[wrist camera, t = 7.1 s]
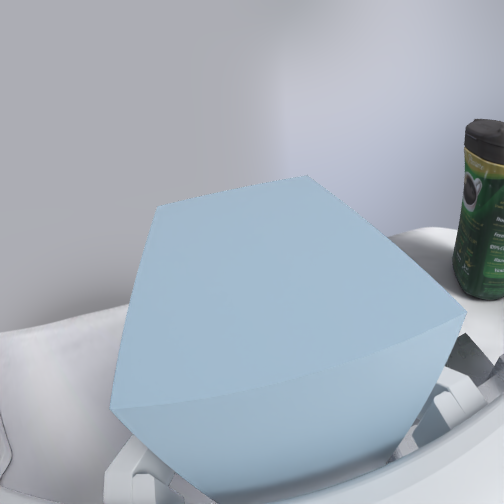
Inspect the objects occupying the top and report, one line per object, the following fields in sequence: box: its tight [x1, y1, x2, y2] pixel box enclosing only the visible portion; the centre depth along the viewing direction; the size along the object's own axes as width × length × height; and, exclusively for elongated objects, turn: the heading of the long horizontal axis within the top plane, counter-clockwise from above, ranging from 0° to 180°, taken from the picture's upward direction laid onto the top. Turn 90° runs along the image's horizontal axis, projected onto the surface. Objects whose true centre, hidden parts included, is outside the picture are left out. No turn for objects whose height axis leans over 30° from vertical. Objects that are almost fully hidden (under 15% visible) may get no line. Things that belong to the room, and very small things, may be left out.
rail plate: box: [388, 333, 504, 464], centre depth 14 cm, size 12×14×4 cm
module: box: [110, 176, 467, 504], centre depth 9 cm, size 4×7×12 cm, turn 10°
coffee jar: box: [452, 119, 504, 300], centre depth 24 cm, size 10×8×19 cm
